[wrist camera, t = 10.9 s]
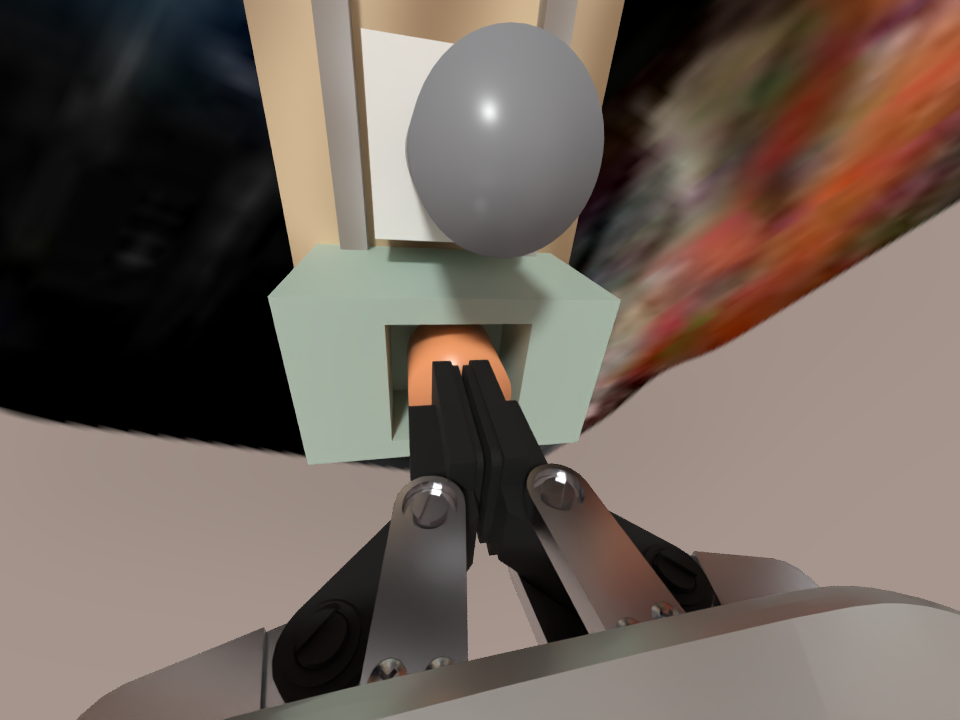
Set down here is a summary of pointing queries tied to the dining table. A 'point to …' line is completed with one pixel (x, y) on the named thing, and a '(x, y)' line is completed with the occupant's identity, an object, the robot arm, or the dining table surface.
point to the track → (342, 103)
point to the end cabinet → (431, 301)
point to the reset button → (448, 356)
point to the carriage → (480, 137)
